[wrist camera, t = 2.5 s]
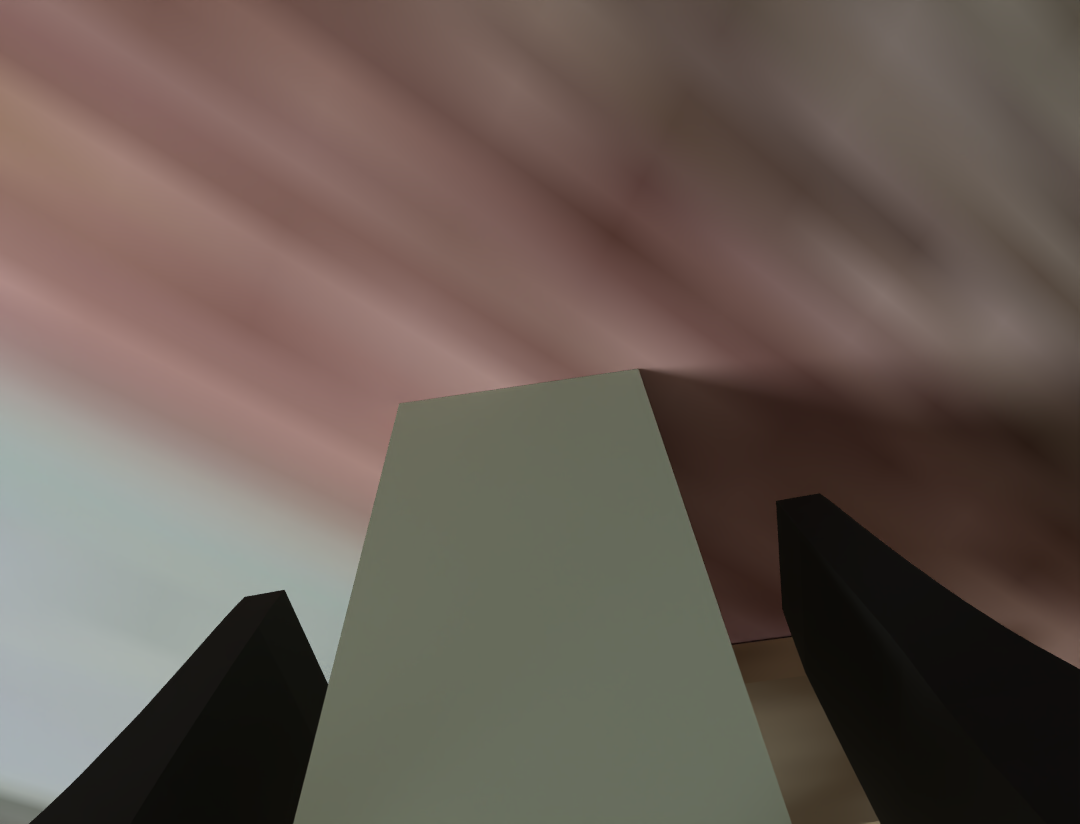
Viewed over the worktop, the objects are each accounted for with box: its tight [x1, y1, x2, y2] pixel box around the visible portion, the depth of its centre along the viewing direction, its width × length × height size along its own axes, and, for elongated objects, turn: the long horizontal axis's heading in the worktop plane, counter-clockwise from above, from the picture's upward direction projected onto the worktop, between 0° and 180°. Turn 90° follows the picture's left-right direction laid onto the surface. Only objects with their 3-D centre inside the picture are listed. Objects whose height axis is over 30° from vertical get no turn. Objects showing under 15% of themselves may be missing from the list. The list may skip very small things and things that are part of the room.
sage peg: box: [293, 369, 792, 824], centre depth 10 cm, size 4×4×8 cm
